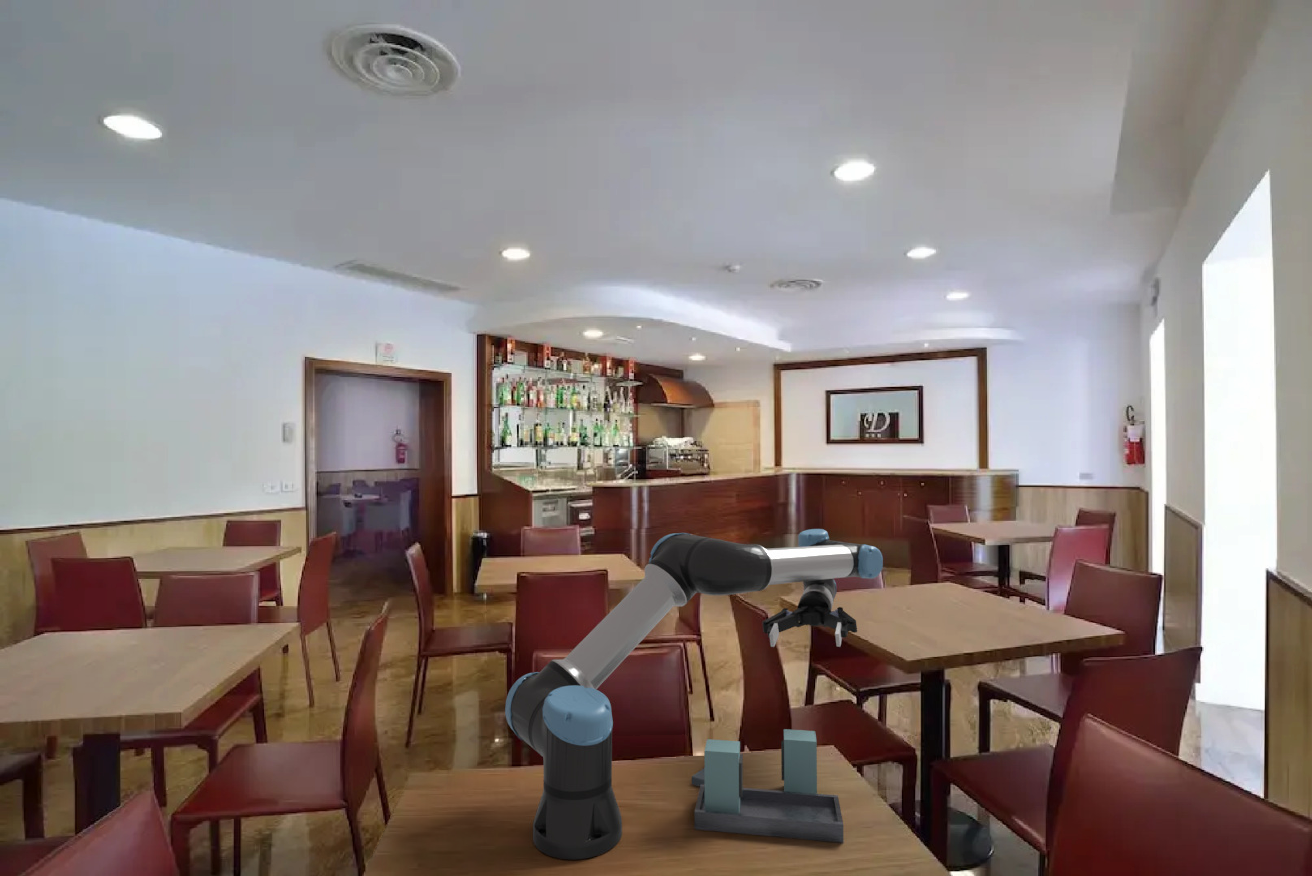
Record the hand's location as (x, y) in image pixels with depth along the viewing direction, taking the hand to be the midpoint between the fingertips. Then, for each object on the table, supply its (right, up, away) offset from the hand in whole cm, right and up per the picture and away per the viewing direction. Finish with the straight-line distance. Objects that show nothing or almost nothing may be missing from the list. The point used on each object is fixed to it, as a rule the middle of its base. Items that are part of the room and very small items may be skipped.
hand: (804, 640), depth 142 cm
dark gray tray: (-11, -26, -21) cm, 35 cm away
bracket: (-19, -27, -4) cm, 33 cm away
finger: (-3, -26, -11) cm, 28 cm away
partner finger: (-19, -24, -19) cm, 36 cm away
